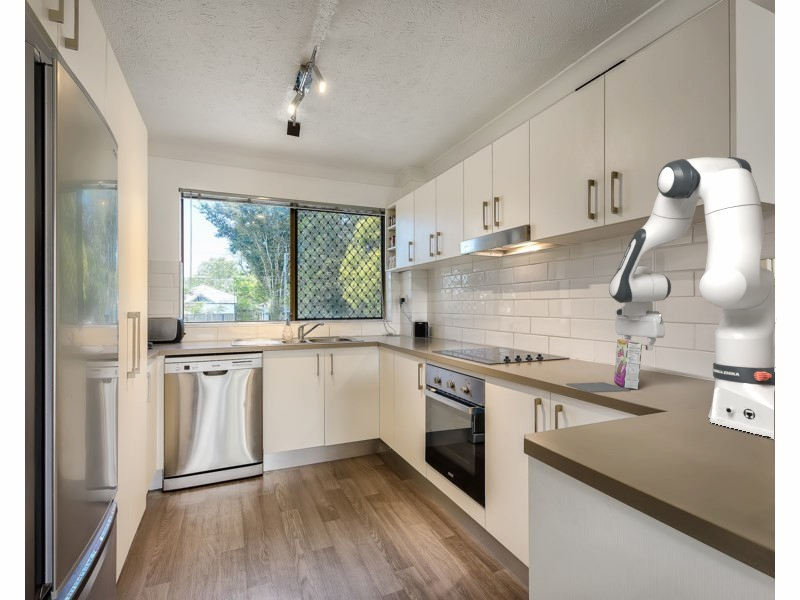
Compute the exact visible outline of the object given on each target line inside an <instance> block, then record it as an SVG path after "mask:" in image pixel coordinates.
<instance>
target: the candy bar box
mask: <svg viewBox="0 0 800 600" xmlns="http://www.w3.org/2000/svg"><path fill="white" fill-rule="evenodd" d="M616 340H617V343H616V352H615V364H614V365H615V366H614V378H613V379H614V381H613V382H614V383H615V384H617V386H619V387H622V388H626V389H630V390H639V383H640V375H641V374H640V371H641V362H642V361H641V360H642V348H643V347H642V346H643V343H642V342H637V341H634V340H632V339H631V340H625V339H621V338H620V339H616Z"/></svg>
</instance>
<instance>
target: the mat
mask: <svg viewBox="0 0 800 600" xmlns="http://www.w3.org/2000/svg"><path fill="white" fill-rule="evenodd" d="M565 385H566V386H569V387H571V388H575V389H577V390H581V391H584V392H587V393H609V392H611V393H613V392H614V393H615V392H617V393H618V392H631V390H632V389H628V388H624V387H622V386H620V385H615V384H610V383H607V382H605V381H602V382H574V383H573V382H572V383H565Z"/></svg>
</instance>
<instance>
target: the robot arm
mask: <svg viewBox="0 0 800 600" xmlns="http://www.w3.org/2000/svg"><path fill="white" fill-rule="evenodd" d="M656 184H657V189H658V193H657V195H656V198H655V201H654V203H653V207H652V209H651V213H650V216H649V217H648V220H647V221H646V223H645V224H643V226H642V227H641V228H639V229H638V230H636V231H635V232H634V234H633V236H632V238H631V239H630V241H629V243H628V246H627V248H626V250H625V252H624V255H623V257H622V258H621V261H620V263H619V266H618V268H617V270H616V271H615V274H614V276H613V277H612V278H611V280H610V283H609V286H608V291H609V295H610V296H611V297H612V299H614V300H615V301H616V302H618V303H619V304H623V303H624V306H622V307H619V308H617V309H616V310H615V311H614V312H615V313H614V314H615V316H616V318H615V325H614V326H615V332H616V334H617V335H619V336H623V340H631V341H632V337H633V336H634V337H641V338H647V341H648V342H647V343H646V344H645V347H644V348H645V350H646V351H653V350H654V345H655V343H656V341H657V340H656V339H663V338H664V337H665V336H666V329H665V322H664V319H663V314H662V313H660V312H659V311H658V310H655V311H653V310H654V302H662V301H664V300H666V299H667V298H668V297H669V296H670V294H671V292H672V283H671V281H670V279H669V278H668V277H667V276H666V275H665V274H662V273H658V272H654V271H652V269H651V267H649V266H647V265H640V263H641V260H642V259H643V257H644V256H645V255H646V254H647V253H648V252H649V251H651V250H653V249H655V248H658V247H661V246H663V245H667V244H670V243H674V242H675V241H678V240H680V239H681V238H682V237H684V236H685V235H686V234H687V232H688V231H689V230H690V227H691V225H692V223H693V220H694V219H693V218H694V215H695V212H696V208H697V205H698V202H699V201H700V200H702V202H703V210H704V211H703V212H704V220H705V221H704V222H705V229H706V239H707V254H706V261H705V269H704V273H703V275H702V277H701V279H700V281H699V285H698V288H699V293H700V295H701V297H702V298H703V299H704V300H705V301H706V302H707V303H710V304H712V305H713V306H715V307H718V308H721V309H722V312H721V315H720V319H719V323H718V325H717V328H716V329H715V331H714V362H713V363H712V376H713V378H714V386H713V393H712V402H711V404H710V405H711V406H710V410H709V413H708V415H707V417H709V418H710V419H709V418H708V419H709V421H710V422H711V423H710V422H709V423H710V424H712V423H715V424H714V425H716V424H718V425H717V426H720V425H722V426H721V427H723V426H726V427H725V428H727V427H729V428H728V429H731V428H734V429H733V430H735V429H738V430H737V431H739V430H742V431H741V432H743V431H746V432H745V433H747V432H750V433H749V434H751V433H753V434H752V435H755V434H759V435H762V436H761V437H763V436H769V437H771V438H770V439H772V440H775V439H774V388H775V372H774V367H775V361H774V360H775V358H774V357H775V356H774V355H775V352H774V348H775V347H774V346H775V345H774V343H775V342H774V334H775V326H776V322H775V317H774V313H775V311H774V304H775V299H774V285H775V280H774V274H775V273H774V271H771V270H770V269H768V268H766V267H761V260H762V250H763V244H764V242H765V240H766V232H765V230H766V229H765V223H764V217H763V209H762V203H761V196H760V192H759V190H758V186H757V184H756V181H755V179H754V177H753V174H752V167H751V164H750V163H749V161H747V160H746V159H743V158H739V157H735V156H733V157H731V156H729V157H709V156H703V157H701V156H700V157H693V158H688V159H684V158H681V159H677V160H676V159H675V160H673V161H669V162H668V163H666V164H665V165H664V166H663V167H662V168H661V170H660V172H659V173H658V175H657V181H656ZM759 435H758V436H759Z"/></svg>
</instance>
